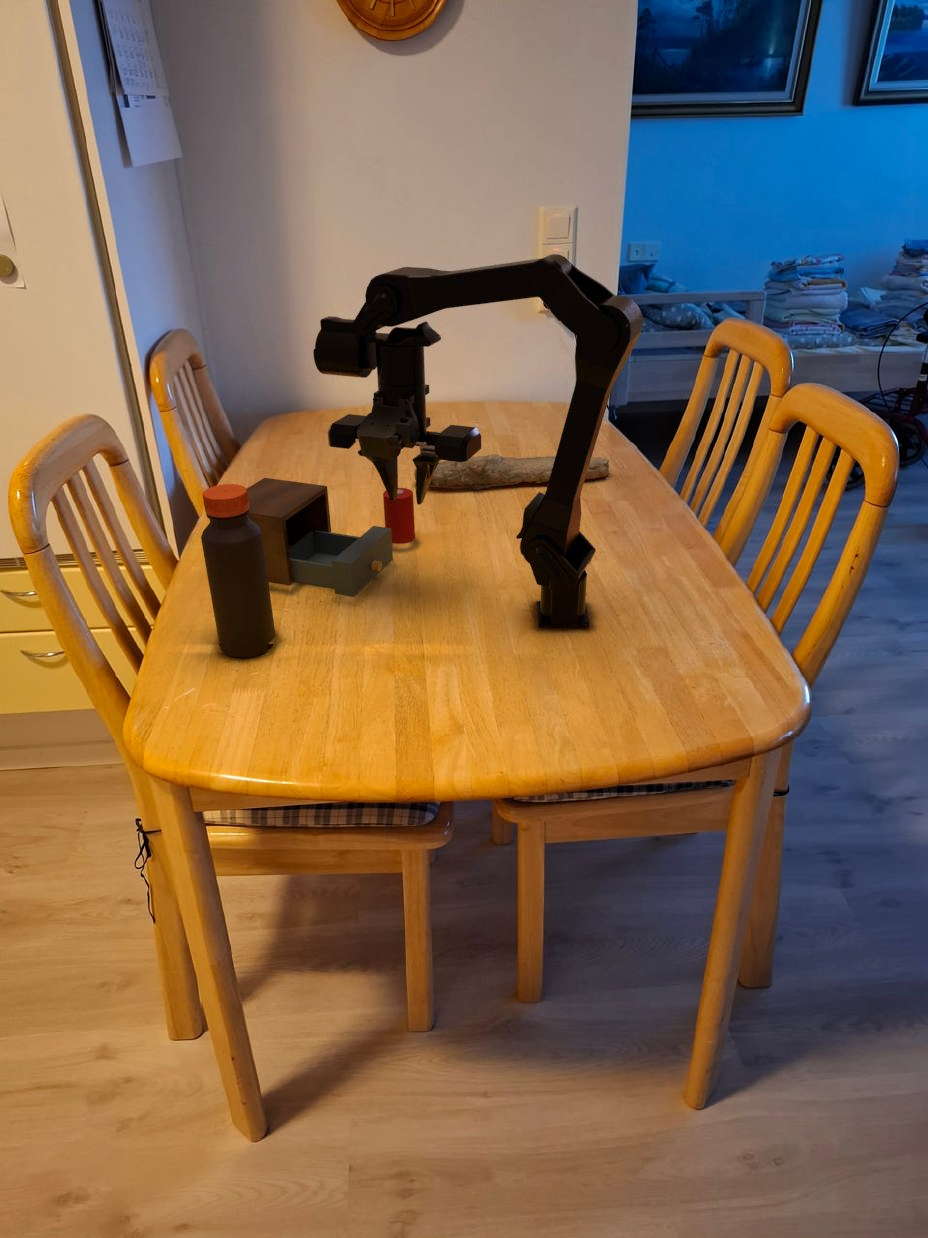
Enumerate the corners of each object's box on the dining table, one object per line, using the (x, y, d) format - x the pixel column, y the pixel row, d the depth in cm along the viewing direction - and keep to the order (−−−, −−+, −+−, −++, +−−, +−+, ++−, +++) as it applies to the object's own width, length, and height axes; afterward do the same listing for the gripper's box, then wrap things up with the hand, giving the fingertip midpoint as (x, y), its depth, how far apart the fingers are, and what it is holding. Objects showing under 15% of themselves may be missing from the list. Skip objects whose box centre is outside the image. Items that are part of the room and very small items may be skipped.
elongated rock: (615, 490, 157) (599, 474, 166) (619, 461, 155) (602, 446, 164) (417, 493, 152) (411, 476, 161) (417, 463, 150) (411, 447, 158)
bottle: (252, 625, 114) (230, 476, 104) (287, 642, 110) (268, 489, 101) (208, 647, 110) (181, 493, 100) (243, 665, 106) (218, 507, 96)
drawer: (399, 565, 128) (397, 529, 125) (360, 603, 118) (357, 564, 116) (318, 552, 132) (315, 517, 130) (274, 587, 123) (269, 550, 120)
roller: (412, 551, 133) (410, 497, 129) (383, 550, 134) (380, 496, 130) (417, 539, 137) (415, 486, 133) (389, 538, 138) (386, 485, 133)
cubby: (333, 557, 132) (327, 485, 126) (290, 593, 122) (281, 517, 116) (273, 547, 135) (264, 477, 130) (226, 581, 125) (215, 507, 120)
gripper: (299, 390, 104) (312, 515, 112) (447, 404, 98) (450, 535, 106) (344, 368, 114) (353, 485, 121) (482, 380, 107) (482, 502, 115)
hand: (406, 501), depth 116 cm, fingers open, 3 cm apart
